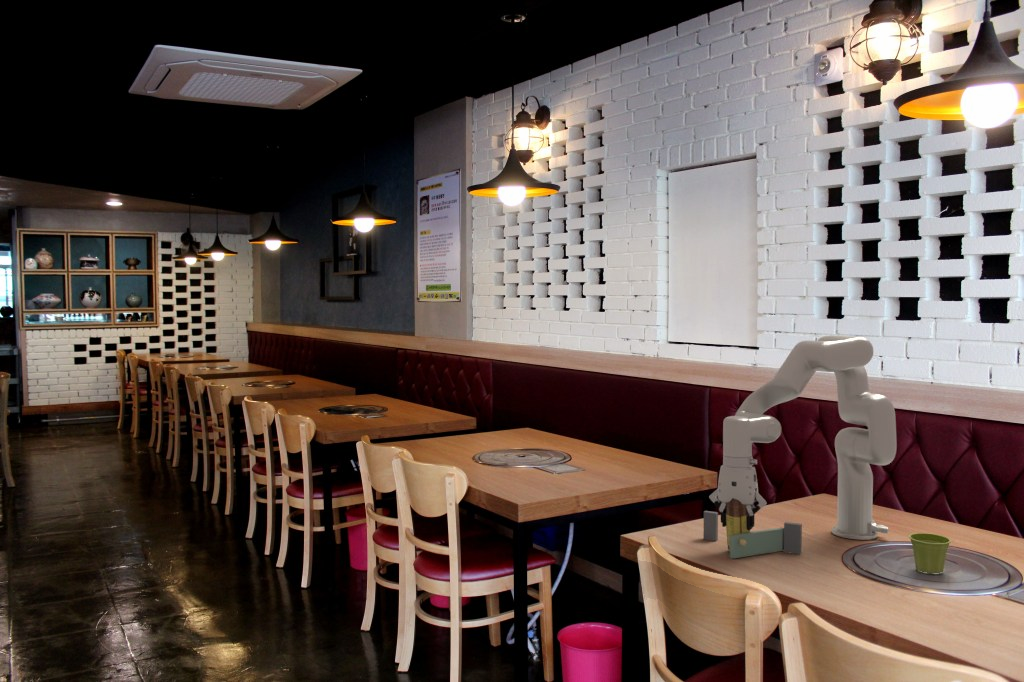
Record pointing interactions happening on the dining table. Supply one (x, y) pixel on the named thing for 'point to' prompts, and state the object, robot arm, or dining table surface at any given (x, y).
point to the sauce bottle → (735, 518)
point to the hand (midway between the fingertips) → (737, 526)
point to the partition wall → (790, 532)
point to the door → (756, 542)
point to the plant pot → (929, 551)
